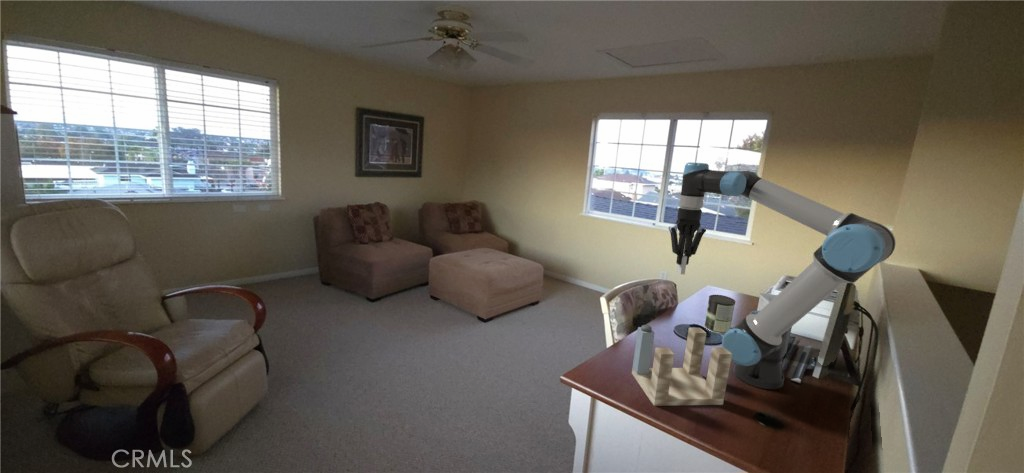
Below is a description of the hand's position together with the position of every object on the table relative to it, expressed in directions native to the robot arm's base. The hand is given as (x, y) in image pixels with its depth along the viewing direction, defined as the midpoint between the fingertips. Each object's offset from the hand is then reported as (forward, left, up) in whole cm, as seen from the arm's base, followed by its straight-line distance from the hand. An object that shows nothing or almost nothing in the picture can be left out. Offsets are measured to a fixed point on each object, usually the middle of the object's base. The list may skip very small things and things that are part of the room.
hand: (680, 273), depth 150 cm
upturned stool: (+8, +21, -32) cm, 39 cm away
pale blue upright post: (+17, +14, -30) cm, 37 cm away
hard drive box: (-45, -7, -33) cm, 56 cm away
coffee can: (-33, -23, -33) cm, 52 cm away
